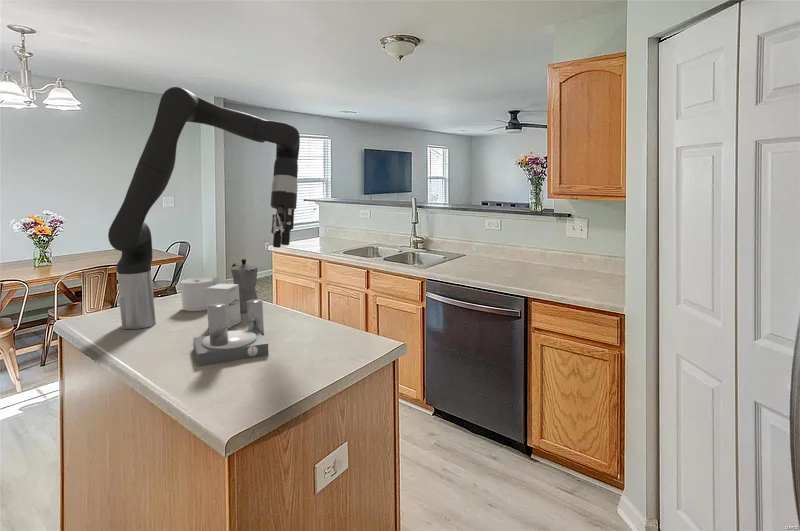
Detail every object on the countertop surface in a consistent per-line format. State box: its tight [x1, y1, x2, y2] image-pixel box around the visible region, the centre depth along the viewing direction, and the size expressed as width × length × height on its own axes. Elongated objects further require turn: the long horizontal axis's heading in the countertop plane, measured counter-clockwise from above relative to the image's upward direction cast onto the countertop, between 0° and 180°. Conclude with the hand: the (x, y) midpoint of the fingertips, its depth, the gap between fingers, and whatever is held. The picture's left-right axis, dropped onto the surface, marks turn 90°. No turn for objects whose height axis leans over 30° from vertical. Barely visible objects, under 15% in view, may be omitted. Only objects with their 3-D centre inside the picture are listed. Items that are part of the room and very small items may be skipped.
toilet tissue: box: [180, 276, 221, 312], centre depth 175 cm, size 11×12×10 cm
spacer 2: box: [246, 299, 265, 336], centre depth 144 cm, size 4×4×10 cm
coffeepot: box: [230, 258, 259, 314], centre depth 172 cm, size 15×9×18 cm, turn 44°
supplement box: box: [206, 283, 242, 330], centre depth 153 cm, size 7×7×13 cm
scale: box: [192, 329, 269, 366], centre depth 130 cm, size 17×14×4 cm
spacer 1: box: [207, 304, 229, 346], centre depth 125 cm, size 4×4×10 cm
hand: (280, 246), depth 146 cm, fingers open, 8 cm apart
